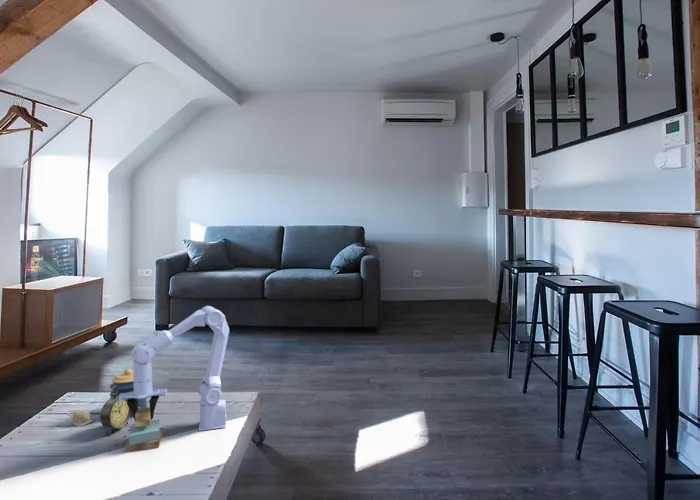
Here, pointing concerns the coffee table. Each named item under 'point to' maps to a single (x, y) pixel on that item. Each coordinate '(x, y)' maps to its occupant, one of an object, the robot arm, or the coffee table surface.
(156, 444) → the tower base
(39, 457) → the coffee table surface
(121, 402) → the alarm clock
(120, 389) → the canister
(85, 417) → the decorative ornament
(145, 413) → the ochre cube
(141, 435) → the tower top
